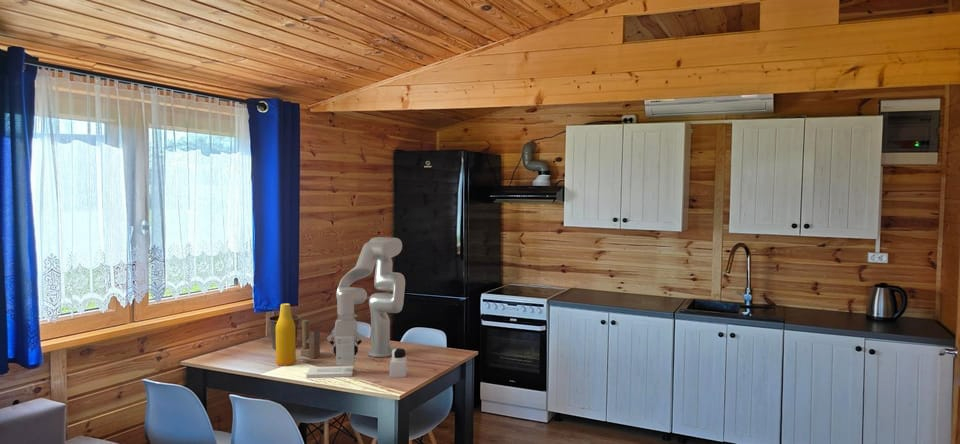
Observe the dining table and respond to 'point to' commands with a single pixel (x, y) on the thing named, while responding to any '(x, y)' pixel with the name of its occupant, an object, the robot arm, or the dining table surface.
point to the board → (330, 372)
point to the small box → (345, 351)
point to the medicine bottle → (398, 363)
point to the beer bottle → (285, 337)
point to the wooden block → (310, 341)
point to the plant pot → (273, 323)
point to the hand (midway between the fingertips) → (345, 354)
